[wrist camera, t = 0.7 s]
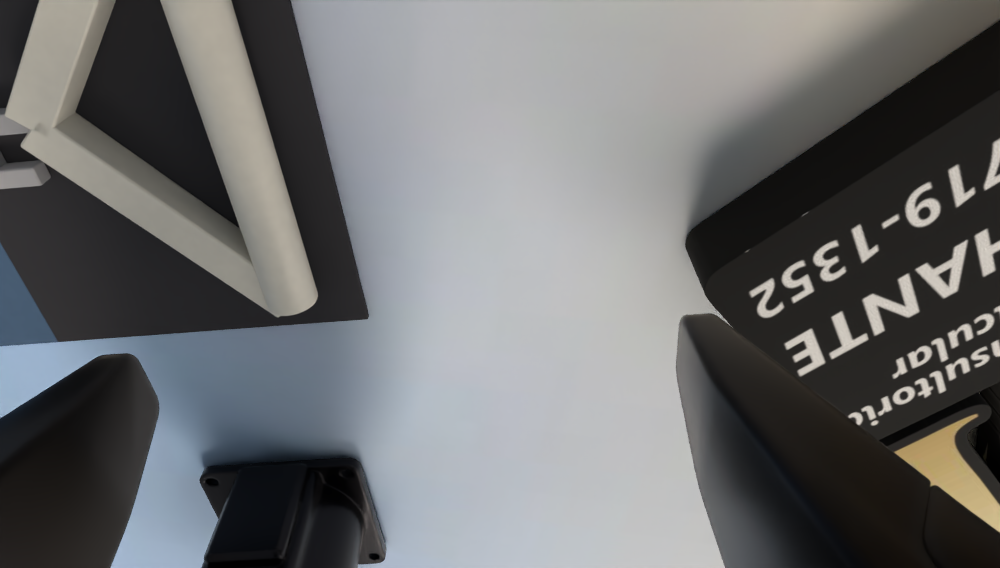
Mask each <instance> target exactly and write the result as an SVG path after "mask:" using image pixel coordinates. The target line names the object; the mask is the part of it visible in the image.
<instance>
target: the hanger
mask: <svg viewBox="0 0 1000 568" xmlns="http://www.w3.org/2000/svg"><path fill="white" fill-rule="evenodd" d="M115 1H116V0H39V2H38V6H37V9H36V12H35V15H34V19H33V22H32V25H31V29H30V32H29V35H28V38H27V42H26V45H25V48H24V52H23V55H22V58H21V61H20V65H19V68H18V71H17V75H16V78H15V81H14V84H13V88H12V91H11V94H10V98H9V101H8V104H7V107H6V108H0V135H11V134H22V133H27V135H26V136H25V138H24V140H23V141H22V143H21V147H22V148H23V149H25V150H26V151H28V152H29V153H31V154H32V155H34V156H35V157H37V158H38V159H40V160H37V161H25V162H14V163H7V162H6V161H5V159H4V157H3V155H2V153H1V151H0V189H8V188H20V187H31V186H41V185H43V184H44V183H45V182H46V181H47V180H49V179H50V178H51V175H50V173H49V171H48V169H47V167H46V165H45V164H44V163H46V164H47V165H49V166H50V167H52V168H53V169H55V170H56V171H58V172H59V173H61V174H62V175H64V176H65V177H67V178H68V179H70V180H71V181H73V182H74V183H76V184H77V185H79V186H80V187H82V188H83V189H85V190H86V191H88V192H89V193H91V194H92V195H94V196H95V197H97V198H98V199H100V200H101V201H103V202H104V203H106V204H107V205H109V206H110V207H112V208H113V209H115V210H116V211H118V212H119V213H121V214H122V215H124V216H125V217H127V218H128V219H130V220H131V221H133V222H134V223H136V224H138V225H139V226H141V227H142V228H144V229H145V230H147V231H148V232H150V233H151V234H153V235H154V236H156V237H157V238H159V239H160V240H162V241H163V242H165V243H166V244H168V245H169V246H171V247H172V248H174V249H175V250H177V251H178V252H180V253H181V254H183V255H184V256H186V257H187V258H189V259H190V260H192V261H193V262H195V263H196V264H198V265H199V266H201V267H202V268H204V269H205V270H207V271H208V272H210V273H211V274H213V275H214V276H216V277H217V278H219V279H220V280H222V281H223V282H225V283H226V284H228V285H229V286H231V287H232V288H234V289H235V290H237V291H238V292H240V293H241V294H243V295H244V296H246V297H247V298H249V299H250V300H252V301H253V302H255V303H256V304H258V305H259V306H261V307H262V308H264V309H265V310H267V311H268V312H270V313H271V314H273V315H274V316H276V317H280V316H290V315H295V314H298V313H301V312H304V311H306V310H307V309H309V308H310V307H312V306H313V305H314V304H315V302H316V300H317V297H318V292H317V289H316V286H315V282H314V279H313V275H312V272H311V269H310V265H309V262H308V258H307V255H306V252H305V248H304V245H303V241H302V238H301V235H300V231H299V228H298V225H297V221H296V218H295V214H294V211H293V208H292V204H291V201H290V197H289V194H288V191H287V187H286V184H285V181H284V177H283V174H282V170H281V167H280V164H279V160H278V157H277V153H276V150H275V147H274V143H273V140H272V136H271V133H270V130H269V126H268V123H267V120H266V116H265V113H264V109H263V106H262V103H261V99H260V96H259V92H258V89H257V86H256V82H255V79H254V76H253V72H252V69H251V65H250V62H249V59H248V55H247V52H246V48H245V45H244V42H243V38H242V35H241V32H240V28H239V25H238V21H237V18H236V15H235V11H234V8H233V4H232V1H231V0H160V1H161V4H162V7H163V10H164V13H165V16H166V18H167V21H168V24H169V27H170V30H171V33H172V36H173V38H174V41H175V44H176V47H177V50H178V53H179V56H180V58H181V61H182V64H183V67H184V70H185V73H186V76H187V78H188V81H189V84H190V87H191V90H192V93H193V96H194V98H195V101H196V104H197V107H198V110H199V113H200V115H201V118H202V121H203V124H204V127H205V130H206V133H207V135H208V138H209V141H210V144H211V147H212V150H213V153H214V155H215V158H216V161H217V164H218V167H219V170H220V173H221V175H222V178H223V181H224V184H225V187H226V190H227V193H228V195H229V198H230V201H231V204H232V207H233V210H234V213H235V215H236V218H237V221H238V224H239V227H240V228H238V227H237V226H235V225H234V224H233V223H231V222H230V221H228V220H227V219H226V218H224V217H223V216H221V215H220V214H218V213H217V212H216V211H214V210H213V209H211V208H210V207H209V206H207V205H206V204H204V203H203V202H202V201H200V200H199V199H197V198H196V197H194V196H193V195H192V194H190V193H189V192H187V191H186V190H185V189H183V188H182V187H180V186H179V185H177V184H176V183H175V182H173V181H172V180H170V179H169V178H168V177H166V176H165V175H163V174H162V173H161V172H159V171H158V170H156V169H155V168H153V167H152V166H151V165H149V164H148V163H146V162H145V161H144V160H142V159H141V158H139V157H138V156H136V155H135V154H134V153H132V152H131V151H129V150H128V149H127V148H125V147H124V146H122V145H121V144H120V143H118V142H117V141H115V140H114V139H112V138H111V137H110V136H108V135H107V134H105V133H104V132H103V131H101V130H100V129H98V128H97V127H95V126H94V125H93V124H91V123H90V122H88V121H87V120H86V119H84V118H83V117H81V116H80V115H79V114H77V113H76V112H75V111H76V109H77V106H78V103H79V100H80V98H81V95H82V92H83V89H84V87H85V84H86V81H87V78H88V76H89V73H90V70H91V67H92V65H93V62H94V59H95V56H96V54H97V51H98V48H99V45H100V43H101V40H102V37H103V34H104V32H105V29H106V26H107V23H108V21H109V18H110V15H111V12H112V10H113V7H114V4H115Z"/></svg>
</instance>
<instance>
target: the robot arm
mask: <svg viewBox="0 0 1000 568" xmlns="http://www.w3.org/2000/svg"><path fill="white" fill-rule="evenodd" d="M676 374H677V382H678V387H679V392H680V397H681V402H682V407H683V412H684V417H685V422H686V427H687V433H688V438H689V443H690V448H691V453H692V458H693V463H694V468H695V472H696V477H697V481H698V485H699V489H700V492H701V496H702V499H703V502H704V505H705V508H706V511H707V514H708V517H709V520H710V523H711V526H712V529H713V532H714V535H715V539H716V542H717V545H718V548H719V551H720V554H721V557H722V560H723V563H724V566H725V568H1000V532H999V531H997V530H996V529H995V528H993V527H992V526H990V525H989V524H988V523H986V522H985V521H984V520H982V519H981V518H980V517H978V516H977V515H976V514H974V513H973V512H971V511H970V510H969V509H967V508H966V507H965V506H964V505H962V504H961V503H960V502H958V501H957V500H956V499H954V498H953V497H952V496H951V495H949V494H948V493H947V492H945V491H944V490H943V489H941V488H940V487H939V486H937V485H932V486H931V481H930V480H929V479H928V478H927V477H925V476H924V475H923V474H922V473H920V472H919V471H918V470H916V469H915V468H914V467H913V466H911V465H910V464H909V463H907V462H906V461H905V460H903V459H902V458H901V457H900V456H898V455H897V454H896V453H894V452H893V451H892V450H890V449H889V448H888V447H887V446H885V445H884V444H883V443H881V442H880V441H879V440H877V439H876V438H875V437H874V436H872V435H871V434H870V433H868V432H867V431H866V430H865V429H863V428H862V427H861V426H859V425H858V424H857V423H855V422H854V421H853V420H852V419H850V418H849V417H848V416H846V415H845V414H844V413H842V412H841V411H840V410H839V409H837V408H836V407H835V406H833V405H832V404H831V403H829V402H828V401H827V400H826V399H824V398H823V397H822V396H820V395H819V394H818V393H817V392H815V391H814V390H813V389H811V388H810V387H809V386H807V385H806V384H805V383H804V382H802V381H801V380H800V379H798V378H797V377H796V376H794V375H793V374H792V373H791V372H789V371H788V370H787V369H785V368H784V367H783V366H781V365H780V364H779V363H778V362H776V361H775V360H774V359H772V358H771V357H770V356H769V355H767V354H766V353H765V352H763V351H762V350H761V349H759V348H758V347H757V346H756V345H754V344H753V343H752V342H750V341H749V340H748V339H746V338H745V337H744V336H743V335H741V334H740V333H739V332H737V331H736V330H735V329H733V328H732V327H731V326H730V325H728V324H727V323H726V322H724V321H723V320H722V319H720V318H719V317H718V316H716V315H714V314H710V313H708V314H694V315H685V316H683V317H682V318H681V320H680V323H679V332H678V346H677V359H676ZM158 415H159V401H158V398H157V395H156V393H155V391H154V389H153V387H152V385H151V383H150V381H149V379H148V377H147V375H146V373H145V371H144V370H143V368H142V366H141V364H140V362H139V360H138V359H137V358H136V357H135V356H134V355H131V354H127V353H125V354H110V355H102V356H99V357H97V358H95V359H93V360H92V361H90V362H89V363H87V364H85V365H84V366H82V367H81V368H79V369H78V370H76V371H74V372H73V373H71V374H70V375H68V376H67V377H65V378H63V379H62V380H60V381H59V382H57V383H56V384H54V385H52V386H51V387H49V388H48V389H46V390H45V391H43V392H41V393H40V394H38V395H37V396H35V397H34V398H32V399H30V400H29V401H27V402H26V403H24V404H23V405H21V406H19V407H18V408H16V409H15V410H13V411H12V412H10V413H8V414H7V415H5V416H4V417H2V418H1V419H0V568H110V567H111V565H112V562H113V559H114V557H115V554H116V552H117V549H118V547H119V544H120V542H121V539H122V537H123V534H124V532H125V529H126V526H127V523H128V521H129V518H130V515H131V512H132V508H133V505H134V502H135V499H136V495H137V492H138V488H139V484H140V481H141V477H142V474H143V470H144V466H145V463H146V459H147V456H148V452H149V448H150V445H151V441H152V438H153V434H154V430H155V427H156V423H157V420H158ZM200 484H201V486H202V488H203V490H204V491H205V493H206V495H207V497H208V499H209V501H210V503H211V505H212V507H213V509H214V511H215V513H216V515H217V517H218V519H219V520H218V522H217V525H216V527H215V530H214V532H213V535H212V538H211V540H210V543H209V545H208V548H207V550H206V553H205V555H204V562H203V565H202V568H358V564H373V563H380V562H382V561H384V559H385V556H386V545H385V542H384V539H383V536H382V532H381V529H380V526H379V522H378V519H377V516H376V513H375V509H374V506H373V503H372V499H371V496H370V493H369V490H368V486H367V483H366V480H365V476H364V473H363V470H362V467H361V464H360V463H359V462H358V461H357V460H356V459H353V458H332V459H316V460H300V461H284V462H269V463H253V464H237V465H221V466H210V467H207V468H205V469H204V471H203V473H202V475H201V478H200ZM930 486H931V487H930Z"/></svg>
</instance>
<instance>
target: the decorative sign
mask: <svg viewBox="0 0 1000 568" xmlns="http://www.w3.org/2000/svg"><path fill="white" fill-rule="evenodd" d="M686 250H687V252H688V255H689V257H690V259H691V262H692V264H693V266H694V269H695V271H696V274H697V276H698V278H699V281H700V283H701V285H702V288H703V290H704V292H705V295H706V297H707V298H708V300H709V301H710V303H711V304H712V305H713V306H714V307H715V308H716V309H717V310H718V311H719V313H720V314H721V315H722V316H723V317H724V318H725V319H726V320H727V322H728V323H729V324H730V325H731V326H732V327H733V328H734V329H735V330H736V331H737V332H739V333H740V334H741V335H743V336H744V337H745V338H746V339H748V340H749V341H750V342H752V343H753V344H754V345H756V346H757V347H758V348H759V349H761V350H762V351H763V352H765V353H766V354H767V355H769V356H770V357H771V358H772V359H774V360H775V361H776V362H778V363H779V364H780V365H781V366H783V367H784V368H785V369H787V370H788V371H789V372H791V373H792V374H793V375H794V376H796V377H797V378H798V379H800V380H801V381H802V382H804V383H805V384H806V385H807V386H809V387H810V388H811V389H813V390H814V391H815V392H817V393H818V394H819V395H820V396H822V397H823V398H824V399H826V400H827V401H828V402H829V403H831V404H832V405H833V406H835V407H836V408H837V409H839V410H840V411H841V412H842V413H844V414H845V415H846V416H848V417H849V418H850V419H852V420H853V421H854V422H855V423H857V424H858V425H859V426H861V427H862V428H863V429H865V430H866V431H867V432H868V433H870V434H871V435H872V436H874V437H875V438H876V439H877V440H879V441H880V442H881V443H883V444H884V445H885V446H887V447H888V448H889V449H890V450H892V451H893V452H894V453H896V454H897V455H898V456H900V457H901V458H902V459H903V460H905V461H906V462H907V463H909V464H910V465H911V466H913V467H914V468H915V469H916V470H918V471H919V472H920V473H922V474H923V475H924V476H925V477H927V478H928V479H929V480H930V481H931V486H932V485H937V486H939V487H940V488H941V489H943V490H944V491H945V492H947V493H948V494H949V495H951V496H952V497H953V498H954V499H956V500H957V501H958V502H960V503H961V504H962V505H964V506H965V507H966V508H967V509H969V510H970V511H971V512H973V513H974V514H976V515H977V516H978V517H980V518H981V519H982V520H984V521H985V522H986V523H988V524H989V525H990V526H992V527H993V528H995V529H996V530H997V531H999V532H1000V21H999V22H998V23H996V24H995V25H993V26H992V27H990V28H989V29H987V30H986V31H984V32H983V33H981V34H980V35H979V36H977V37H976V38H974V39H973V40H971V41H970V42H968V43H967V44H965V45H964V46H962V47H961V48H959V49H958V50H956V51H955V52H953V53H952V54H950V55H949V56H947V57H946V58H944V59H943V60H941V61H940V62H938V63H937V64H936V65H934V66H933V67H931V68H930V69H928V70H927V71H925V72H924V73H922V74H921V75H919V76H918V77H916V78H915V79H913V80H912V81H910V82H909V83H907V84H906V85H904V86H903V87H901V88H900V89H898V90H897V91H896V92H894V93H893V94H891V95H890V96H888V97H887V98H885V99H884V100H882V101H881V102H879V103H878V104H876V105H875V106H873V107H872V108H870V109H869V110H867V111H866V112H864V113H863V114H861V115H860V116H858V117H857V118H855V119H854V120H853V121H851V122H850V123H848V124H847V125H845V126H844V127H842V128H841V129H839V130H838V131H836V132H835V133H833V134H832V135H830V136H829V137H827V138H826V139H824V140H823V141H821V142H820V143H818V144H817V145H815V146H814V147H813V148H811V149H810V150H808V151H807V152H805V153H804V154H802V155H801V156H799V157H798V158H796V159H795V160H793V161H792V162H790V163H789V164H787V165H786V166H784V167H783V168H781V169H780V170H778V171H777V172H775V173H774V174H772V175H771V176H770V177H768V178H767V179H765V180H764V181H762V182H761V183H759V184H758V185H756V186H755V187H753V188H752V189H750V190H749V191H747V192H746V193H744V194H743V195H741V196H740V197H738V198H737V199H735V200H734V201H732V202H731V203H730V204H728V205H727V206H725V207H724V208H722V209H721V210H719V211H718V212H716V213H715V214H713V215H712V216H710V217H709V218H707V219H706V220H704V221H703V222H701V223H700V224H699V225H697V226H696V227H695V228H694V229H693V230H692V231H691V232H690V233H689V235H688V237H687V240H686ZM979 391H981V392H982V393H981V395H980V394H979V393H978V392H979ZM978 425H979V431H978V443H977V451H976V450H975V449H974V448H973V446H972V445H971V444H970V442H969V441H968V433H969V432H970V431H971V430H972V429H973V428H975V427H977V426H978ZM931 486H930V487H931Z"/></svg>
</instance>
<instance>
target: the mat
mask: <svg viewBox="0 0 1000 568" xmlns="http://www.w3.org/2000/svg"><path fill="white" fill-rule="evenodd" d="M231 1H232V4H233V8H234V11H235V15H236V18H237V21H238V25H239V28H240V32H241V35H242V38H243V42H244V45H245V48H246V52H247V55H248V59H249V62H250V65H251V69H252V72H253V76H254V79H255V82H256V86H257V89H258V92H259V96H260V99H261V103H262V106H263V109H264V113H265V116H266V120H267V123H268V126H269V130H270V133H271V136H272V140H273V143H274V147H275V150H276V153H277V157H278V160H279V164H280V167H281V170H282V174H283V177H284V181H285V184H286V187H287V191H288V194H289V197H290V201H291V204H292V208H293V211H294V214H295V218H296V221H297V225H298V228H299V231H300V235H301V238H302V241H303V245H304V248H305V252H306V255H307V258H308V262H309V265H310V269H311V272H312V275H313V279H314V282H315V286H316V289H317V292H318V297H317V300H316V302H315V304H314V305H313V306H312V307H310V308H309V309H307V310H306V311H304V312H301V313H298V314H295V315H290V316H280V317H276V316H274V315H273V314H271V313H270V312H268V311H267V310H265V309H264V308H262V307H261V306H259V305H258V304H256V303H255V302H253V301H252V300H250V299H249V298H247V297H246V296H244V295H243V294H241V293H240V292H238V291H237V290H235V289H234V288H232V287H231V286H229V285H228V284H226V283H225V282H223V281H222V280H220V279H219V278H217V277H216V276H214V275H213V274H211V273H210V272H208V271H207V270H205V269H204V268H202V267H201V266H199V265H198V264H196V263H195V262H193V261H192V260H190V259H189V258H187V257H186V256H184V255H183V254H181V253H180V252H178V251H177V250H175V249H174V248H172V247H171V246H169V245H168V244H166V243H165V242H163V241H162V240H160V239H159V238H157V237H156V236H154V235H153V234H151V233H150V232H148V231H147V230H145V229H144V228H142V227H141V226H139V225H138V224H136V223H134V222H133V221H131V220H130V219H128V218H127V217H125V216H124V215H122V214H121V213H119V212H118V211H116V210H115V209H113V208H112V207H110V206H109V205H107V204H106V203H104V202H103V201H101V200H100V199H98V198H97V197H95V196H94V195H92V194H91V193H89V192H88V191H86V190H85V189H83V188H82V187H80V186H79V185H77V184H76V183H74V182H73V181H71V180H70V179H68V178H67V177H65V176H64V175H62V174H61V173H59V172H58V171H56V170H55V169H53V168H52V167H50V166H49V165H47V164H46V163H44V164H45V165H46V167H47V169H48V171H49V173H50V175H51V178H50V179H49V180H47V181H46V182H45V183H44V184H43V185H41V186H31V187H20V188H8V189H0V346H9V345H23V344H36V343H50V342H63V341H77V340H90V339H104V338H118V337H131V336H145V335H158V334H172V333H185V332H199V331H212V330H226V329H240V328H253V327H267V326H280V325H294V324H307V323H321V322H334V321H348V320H361V319H368V317H369V314H368V310H367V306H366V302H365V298H364V294H363V290H362V286H361V282H360V278H359V274H358V270H357V266H356V262H355V258H354V254H353V250H352V246H351V242H350V238H349V234H348V230H347V226H346V222H345V218H344V214H343V210H342V206H341V202H340V198H339V194H338V190H337V186H336V182H335V178H334V174H333V170H332V166H331V162H330V158H329V154H328V150H327V146H326V142H325V138H324V134H323V130H322V126H321V122H320V118H319V114H318V110H317V106H316V102H315V98H314V94H313V90H312V86H311V82H310V78H309V74H308V70H307V66H306V62H305V58H304V54H303V50H302V46H301V42H300V38H299V34H298V30H297V26H296V22H295V18H294V14H293V10H292V6H291V2H290V0H231ZM38 2H39V0H0V108H6V107H7V104H8V101H9V98H10V94H11V91H12V88H13V84H14V81H15V78H16V75H17V71H18V68H19V65H20V61H21V58H22V55H23V52H24V48H25V45H26V42H27V38H28V35H29V32H30V29H31V25H32V22H33V19H34V15H35V12H36V9H37V6H38ZM75 112H76V113H77V114H79V115H80V116H81V117H83V118H84V119H86V120H87V121H88V122H90V123H91V124H93V125H94V126H95V127H97V128H98V129H100V130H101V131H103V132H104V133H105V134H107V135H108V136H110V137H111V138H112V139H114V140H115V141H117V142H118V143H120V144H121V145H122V146H124V147H125V148H127V149H128V150H129V151H131V152H132V153H134V154H135V155H136V156H138V157H139V158H141V159H142V160H144V161H145V162H146V163H148V164H149V165H151V166H152V167H153V168H155V169H156V170H158V171H159V172H161V173H162V174H163V175H165V176H166V177H168V178H169V179H170V180H172V181H173V182H175V183H176V184H177V185H179V186H180V187H182V188H183V189H185V190H186V191H187V192H189V193H190V194H192V195H193V196H194V197H196V198H197V199H199V200H200V201H202V202H203V203H204V204H206V205H207V206H209V207H210V208H211V209H213V210H214V211H216V212H217V213H218V214H220V215H221V216H223V217H224V218H226V219H227V220H228V221H230V222H231V223H233V224H234V225H235V226H237V227H238V228H240V227H239V224H238V221H237V218H236V215H235V213H234V210H233V207H232V204H231V201H230V198H229V195H228V193H227V190H226V187H225V184H224V181H223V178H222V175H221V173H220V170H219V167H218V164H217V161H216V158H215V155H214V153H213V150H212V147H211V144H210V141H209V138H208V135H207V133H206V130H205V127H204V124H203V121H202V118H201V115H200V113H199V110H198V107H197V104H196V101H195V98H194V96H193V93H192V90H191V87H190V84H189V81H188V78H187V76H186V73H185V70H184V67H183V64H182V61H181V58H180V56H179V53H178V50H177V47H176V44H175V41H174V38H173V36H172V33H171V30H170V27H169V24H168V21H167V18H166V16H165V13H164V10H163V7H162V4H161V1H160V0H116V1H115V4H114V7H113V10H112V12H111V15H110V18H109V21H108V23H107V26H106V29H105V32H104V34H103V37H102V40H101V43H100V45H99V48H98V51H97V54H96V56H95V59H94V62H93V65H92V67H91V70H90V73H89V76H88V78H87V81H86V84H85V87H84V89H83V92H82V95H81V98H80V100H79V103H78V106H77V109H76V111H75ZM26 135H27V133H22V134H11V135H0V151H1V153H2V155H3V157H4V159H5V161H6V162H7V163H14V162H25V161H37V160H40V159H38V158H37V157H35V156H34V155H32V154H31V153H29V152H28V151H26V150H25V149H23V148H22V147H21V143H22V141H23V140H24V138H25V136H26Z"/></svg>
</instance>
